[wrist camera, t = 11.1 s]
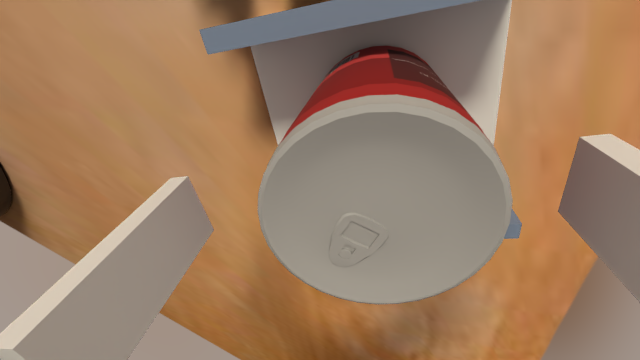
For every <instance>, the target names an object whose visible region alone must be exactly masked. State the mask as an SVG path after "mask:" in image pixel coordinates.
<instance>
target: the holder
mask: <svg viewBox="0 0 640 360" xmlns="http://www.w3.org/2000/svg"><path fill="white" fill-rule="evenodd" d="M511 3H512V0H331V1H327V2H322V3H318V4H313V5H309V6H304V7H300V8H295V9H291V10H286V11H282V12H278V13H273V14H269V15H264V16H260V17H255V18H251V19H246V20H242V21H237V22H233V23H228V24H224V25H219V26H215V27H210V28H206V29H201V30H199V31H200V34H201V36H202V39H203V42H204V45H205V48H206V51H207V54H213V53H218V52H223V51H228V50H233V49H238V48H243V47H248V46H250V47H251V51H252V54H253V58H254V61H255V65H256V68H257V72H258V76H259V79H260V83H261V86H262V90H263V93H264V97H265V101H266V104H267V108H268V111H269V115H270V118H271V122H272V126H273V129H274V133H275V136H276V140H277V144H278V145H279V144H280V142H281V141H282V139H283V138H284V136H285V134H286V132H287V131H288V129H289V128H290V126H291V125H292V123H293V122H294V121H295V119H296V118H297V116H298V115H299V113H300V112H301V110H302V109H303V108H304V106H305V105H306V103H307V102H308V100H309V99H310V98H311V96H312V95H313V93H314V92H315V90H316V89H317V87H318V86H319V85H320V83H321V82H322V80H323V79H324V77H325V76H326V75H327V74H328V72H329V71H330V70H331V69H332V68H333V67H334V66H335V65H336V64H337V63H338V62H340V61H341V60H342V59H343V58H345V57H346V56H348V55H350V54H352V53H354V52H356V51H358V50H361V49H365V48H368V47H372V46H386V45H388V46H394V47H400V48H403V49H406V50H408V51H410V52H413V53H415V54H416V55H418V56H419V57H420V58H422V59H423V60H425V61H426V62H427V64H428V65H429V66H430V67H431V68H432V69H433V71H434V72H435V73H436V74H437V75H438V77H439V78H440V79H441V80H442V82H443V83H444V84H445V85H446V86H447V88H448V89H449V90H450V91H451V93H452V94H453V95H454V96H455V97H456V99H457V100H458V101H459V102H460V103H461V105H462V106H463V107H464V108H465V110H466V111H467V112H468V113H469V114H470V116H471V117H472V118H473V119H474V120H475V122H476V123H477V124H478V125H479V127H480V128H481V129H482V131H483V132H484V134H485V135H486V137H487V138H488V139H489V140H490V142H491V143H492V144H493V145H494V139H495V131H496V123H497V115H498V107H499V99H500V91H501V83H502V75H503V67H504V59H505V51H506V43H507V35H508V27H509V19H510V11H511ZM521 225H522V223H521V222H520V220H519V219H518V217H517V216H516V214H515V213H514V211H513V209H511V218H510V224H509V226H508V229H507V231H506V234H505V236H504V239H509V238H519V235H520V230H521Z"/></svg>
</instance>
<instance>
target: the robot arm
mask: <svg viewBox="0 0 640 360" xmlns="http://www.w3.org/2000/svg"><path fill="white" fill-rule="evenodd" d="M10 205H11V191H10V187H9V184H8V181H7V179H6V177H5V174H4V173H3V171H2V169H1V167H0V216H1V215H3V214H4V213H6V212H7V211H8V209H9V207H10ZM558 212H559V213H560V214H561V215H562V216H563V217H564V219H565V220H566V221H567V222H568V223H569V224H570V225H571V226H572V228H573V229H574V230H575V231H576V232H577V233H578V234H579V235H580V236H581V238H582V239H583V240H584V241H585V242H586V243H587V244H588V245H589V246H590V248H591V249H592V250H593V251H594V252H595V253H596V254H597V255H598V257H599V258H600V259H601V260H602V261H603V262H604V263H605V264H606V265H607V267H608V268H609V269H610V270H611V271H612V272H613V273H614V274H615V275H616V276H617V278H618V279H619V280H620V281H621V282H622V283H623V284H624V285H625V287H626V288H627V289H628V290H629V291H630V292H631V293H632V294H633V296H634V297H635V298H636V299H637V300H638V301H639V302H640V150H639V149H637V148H635V147H633V146H632V145H630V144H628V143H626V142H624V141H623V140H621V139H619V138H617V137H615V136H614V135H612V134H604V135H594V136H584V137H579V141H578V144H577V148H576V151H575V155H574V158H573V161H572V165H571V168H570V172H569V175H568V179H567V182H566V186H565V189H564V193H563V196H562V199H561V203H560V206H559V210H558ZM213 230H214V229H213V227H212V225H211V223H210V221H209V219H208V216H207V214H206V212H205V210H204V208H203V206H202V204H201V202H200V200H199V198H198V196H197V194H196V192H195V190H194V188H193V186H192V183H191V181H190V179H189V177H188V176H185V177H175V178H170V179H169V180H168V181H167V182H166V183H165V184H164V185H163V186H162V187H161V188H159V189H158V190H157V191H156V192H155V193H154V194H153V195H152V196H151V197H150V198H148V199H147V200H146V201H145V202H144V203H143V204H142V205H141V206H140V207H139V208H137V209H136V210H135V211H134V212H133V213H132V214H131V215H130V216H129V217H128V218H126V219H125V220H124V221H123V222H122V223H121V224H120V225H119V226H118V227H117V228H115V229H114V230H113V231H112V232H111V233H110V234H109V235H108V236H107V237H106V238H104V239H103V240H102V241H101V242H100V243H99V244H98V245H97V246H96V247H95V248H93V249H92V250H91V251H90V252H89V253H88V254H87V255H86V256H85V257H84V258H82V259H81V260H80V261H79V262H78V263H77V264H76V265H75V266H74V267H73V268H72V269H70V270H69V271H68V272H67V273H66V274H65V275H64V276H63V277H62V278H61V279H59V280H58V281H57V282H56V283H55V284H54V285H53V286H52V287H51V288H50V289H49V290H47V291H46V292H45V293H44V294H43V295H42V296H41V297H40V298H39V299H37V300H36V301H35V302H34V303H33V304H32V305H31V306H30V307H29V308H28V309H26V310H25V311H24V312H23V313H22V314H21V315H20V316H19V317H18V318H17V319H15V320H14V321H13V322H12V323H11V324H10V325H9V326H8V327H7V328H6V329H5V330H3V331H2V332H1V333H0V360H128V358H129V357H130V355H131V354H132V352H133V351H134V349H135V348H136V346H137V345H138V343H139V341H140V340H141V339H142V337H143V336H144V334H145V333H146V331H147V329H148V328H149V326H150V325H151V324H152V322H153V320H154V319H155V318H156V316H157V314H158V313H159V312H160V310H161V309H162V307H163V306H164V304H165V303H166V301H167V300H168V298H169V297H170V295H171V294H172V292H173V291H174V289H175V288H176V286H177V285H178V283H179V282H180V280H181V279H182V277H183V276H184V274H185V273H186V271H187V270H188V268H189V267H190V265H191V264H192V262H193V261H194V259H195V257H196V256H197V254H198V253H199V251H200V250H201V248H202V247H203V245H204V244H205V242H206V241H207V239H208V238H209V236H210V235H211V233H212V232H213Z"/></svg>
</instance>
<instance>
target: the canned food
mask: <svg viewBox="0 0 640 360" xmlns="http://www.w3.org/2000/svg"><path fill="white" fill-rule="evenodd" d="M511 209H512V195H511V188H510V182H509V178H508V175H507V173H506V171H505V169H504V167H503V164H502V162H501V160H500V158H499V156H498V154H497V152H496V150H495V147H494V145H493V144H492V143H491V142H490V140H489V139H488V138H487V137H486V135H485V134H484V132H483V131H482V129H481V128H480V127H479V125H478V124H477V123H476V122H475V120H474V119H473V118H472V117H471V116H470V114H469V113H468V112H467V111H466V110H465V108H464V107H463V106H462V105H461V103H460V102H459V101H458V100H457V99H456V97H455V96H454V95H453V94H452V93H451V91H450V90H449V89H448V88H447V86H446V85H445V84H444V83H443V82H442V80H441V79H440V78H439V77H438V75H437V74H436V73H435V72H434V71H433V69H432V68H431V67H430V66H429V65H428V64H427V62H426V61H425V60H423V59H422V58H420V57H419V56H418V55H416V54H415V53H413V52H410V51H408V50H406V49H403V48H400V47H394V46H388V45H386V46H372V47H368V48H365V49H361V50H358V51H356V52H354V53H352V54H350V55H348V56H346V57H345V58H343V59H342V60H341V61H340V62H338V63H337V64H336V65H335V66H334V67H333V68H332V69H331V70H330V71H329V72H328V74H327V75H326V76H325V77H324V79H323V80H322V82H321V83H320V85H319V86H318V87H317V89H316V90H315V92H314V93H313V95H312V96H311V98H310V99H309V100H308V102H307V103H306V105H305V106H304V108H303V109H302V110H301V112H300V113H299V115H298V116H297V118H296V119H295V121H294V122H293V123H292V125H291V126H290V128H289V129H288V131H287V132H286V134H285V136H284V138H283V139H282V141H281V142H280V144H279V145H278V147H277V149H276V150H275V152H274V154H273V156H272V158H271V159H270V161H269V163H268V165H267V169H266V171H265V173H264V175H263V179H262V182H261V186H260V189H259V193H258V215H259V221H260V226H261V230H262V232H263V235H264V237H265V239H266V242H267V244H268V246H269V247H270V249H271V250H272V252H273V253H274V255H275V256H276V258H277V259H278V260H279V261H280V262H281V263H282V264H283V265H284V266H285V267H286V268H287V269H288V270H289V271H290V272H291V273H292V274H293V275H295V276H296V277H297V278H299V279H300V280H301V281H303V282H304V283H306V284H308V285H310V286H311V287H313V288H315V289H317V290H319V291H321V292H323V293H326V294H329V295H332V296H334V297H337V298H340V299H345V300H349V301H354V302H359V303H369V304H399V303H406V302H412V301H418V300H422V299H425V298H428V297H432V296H435V295H438V294H440V293H443V292H445V291H447V290H449V289H451V288H454V287H456V286H458V285H459V284H461V283H462V282H464V281H465V280H467V279H468V278H470V277H471V276H473V275H474V274H475V273H476V272H477V271H479V270H480V269H481V268H482V267H483V266H484V265H485V264H486V263H487V262H488V261H489V260H490V259H491V257H492V256H493V255H494V253H495V252H496V250H497V249H498V247H499V246H500V245H501V243H502V241H503V239H504V236H505V234H506V231H507V229H508V226H509V224H510V218H511Z"/></svg>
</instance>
